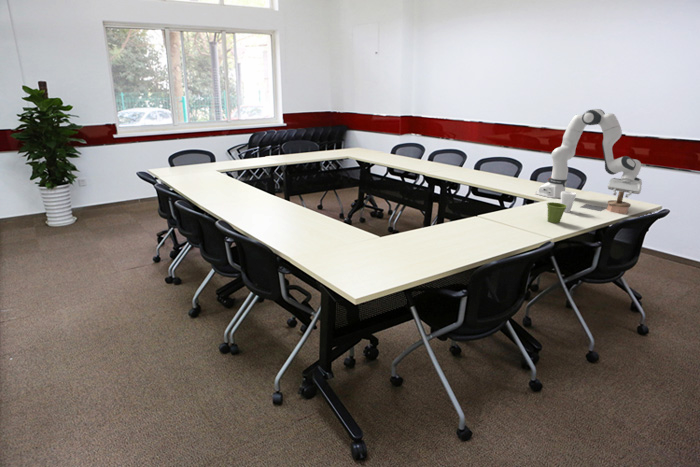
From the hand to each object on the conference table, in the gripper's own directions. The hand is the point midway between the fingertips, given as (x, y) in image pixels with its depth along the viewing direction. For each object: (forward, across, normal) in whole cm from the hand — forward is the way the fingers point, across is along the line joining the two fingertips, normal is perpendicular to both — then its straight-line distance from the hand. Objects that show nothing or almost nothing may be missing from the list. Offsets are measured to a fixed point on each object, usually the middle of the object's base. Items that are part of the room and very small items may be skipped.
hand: (620, 195), depth 308 cm
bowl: (+8, 0, +8) cm, 11 cm away
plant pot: (+52, -20, -35) cm, 66 cm away
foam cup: (+28, -25, -12) cm, 40 cm away
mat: (+10, -14, +6) cm, 19 cm away
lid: (+4, 0, +5) cm, 6 cm away
